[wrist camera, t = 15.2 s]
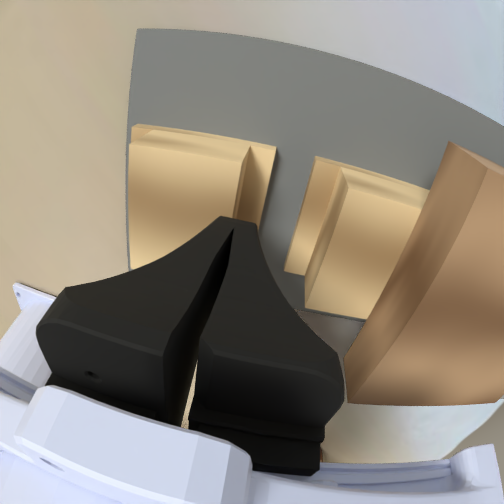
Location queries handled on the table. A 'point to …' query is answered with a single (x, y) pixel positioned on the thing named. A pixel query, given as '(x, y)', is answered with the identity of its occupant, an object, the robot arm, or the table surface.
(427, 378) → the slab
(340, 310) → the block
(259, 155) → the block
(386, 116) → the mat
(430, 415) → the table surface
